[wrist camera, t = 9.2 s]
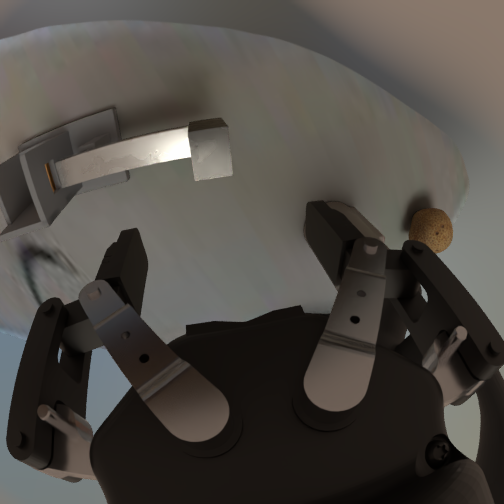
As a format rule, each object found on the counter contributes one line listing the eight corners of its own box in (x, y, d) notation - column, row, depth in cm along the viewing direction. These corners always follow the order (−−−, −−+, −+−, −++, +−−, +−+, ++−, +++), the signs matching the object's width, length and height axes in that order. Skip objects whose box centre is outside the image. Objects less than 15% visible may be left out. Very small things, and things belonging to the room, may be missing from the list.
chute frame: (115, 107, 27) (77, 121, 17) (130, 177, 33) (104, 221, 23) (22, 143, 25) (-29, 175, 15) (40, 203, 31) (1, 249, 21)
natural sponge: (437, 201, 46) (468, 226, 38) (421, 237, 51) (448, 264, 43) (411, 193, 44) (446, 219, 36) (394, 233, 48) (424, 263, 40)
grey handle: (219, 115, 24) (228, 126, 18) (223, 152, 27) (232, 175, 21) (59, 155, 22) (26, 179, 16) (68, 187, 25) (40, 218, 19)
